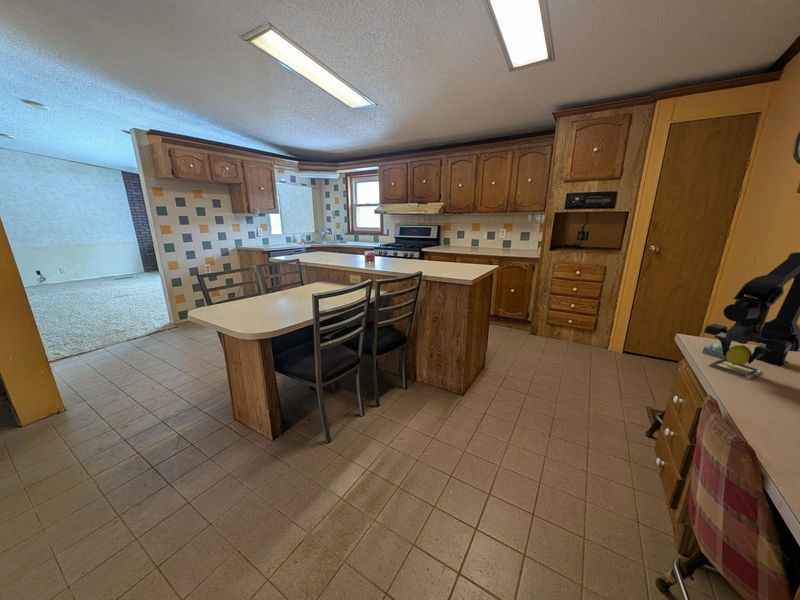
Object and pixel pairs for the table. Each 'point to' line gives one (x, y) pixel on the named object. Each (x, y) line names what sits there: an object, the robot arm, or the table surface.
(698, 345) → the table surface
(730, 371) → the grey tray
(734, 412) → the table surface
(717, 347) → the button
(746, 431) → the table surface
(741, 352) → the lemon
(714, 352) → the button housing
